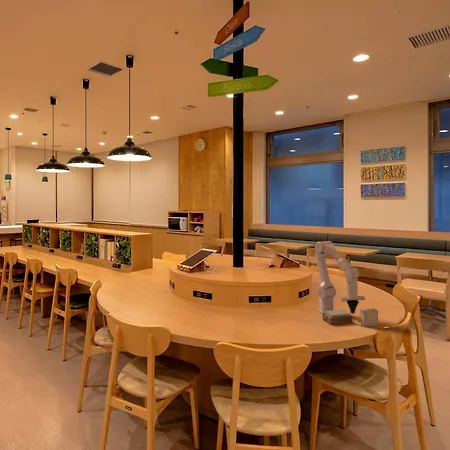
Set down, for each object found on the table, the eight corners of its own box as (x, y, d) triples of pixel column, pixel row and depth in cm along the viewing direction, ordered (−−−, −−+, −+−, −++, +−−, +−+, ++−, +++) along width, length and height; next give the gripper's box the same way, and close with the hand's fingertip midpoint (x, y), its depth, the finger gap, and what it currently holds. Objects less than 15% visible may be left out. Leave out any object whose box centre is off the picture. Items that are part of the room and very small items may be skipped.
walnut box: (322, 319, 207) (322, 312, 207) (343, 318, 209) (343, 311, 209) (330, 325, 197) (330, 317, 197) (352, 323, 199) (352, 315, 199)
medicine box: (374, 323, 197) (374, 308, 197) (378, 326, 193) (378, 310, 192) (360, 324, 197) (360, 308, 196) (363, 327, 192) (363, 311, 192)
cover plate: (324, 314, 206) (324, 311, 206) (342, 313, 208) (342, 309, 208) (331, 318, 198) (331, 315, 198) (350, 317, 200) (349, 313, 200)
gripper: (344, 291, 199) (344, 316, 199) (367, 290, 202) (368, 314, 202) (337, 289, 206) (338, 312, 206) (360, 287, 209) (361, 310, 209)
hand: (352, 313), depth 205 cm, fingers closed
